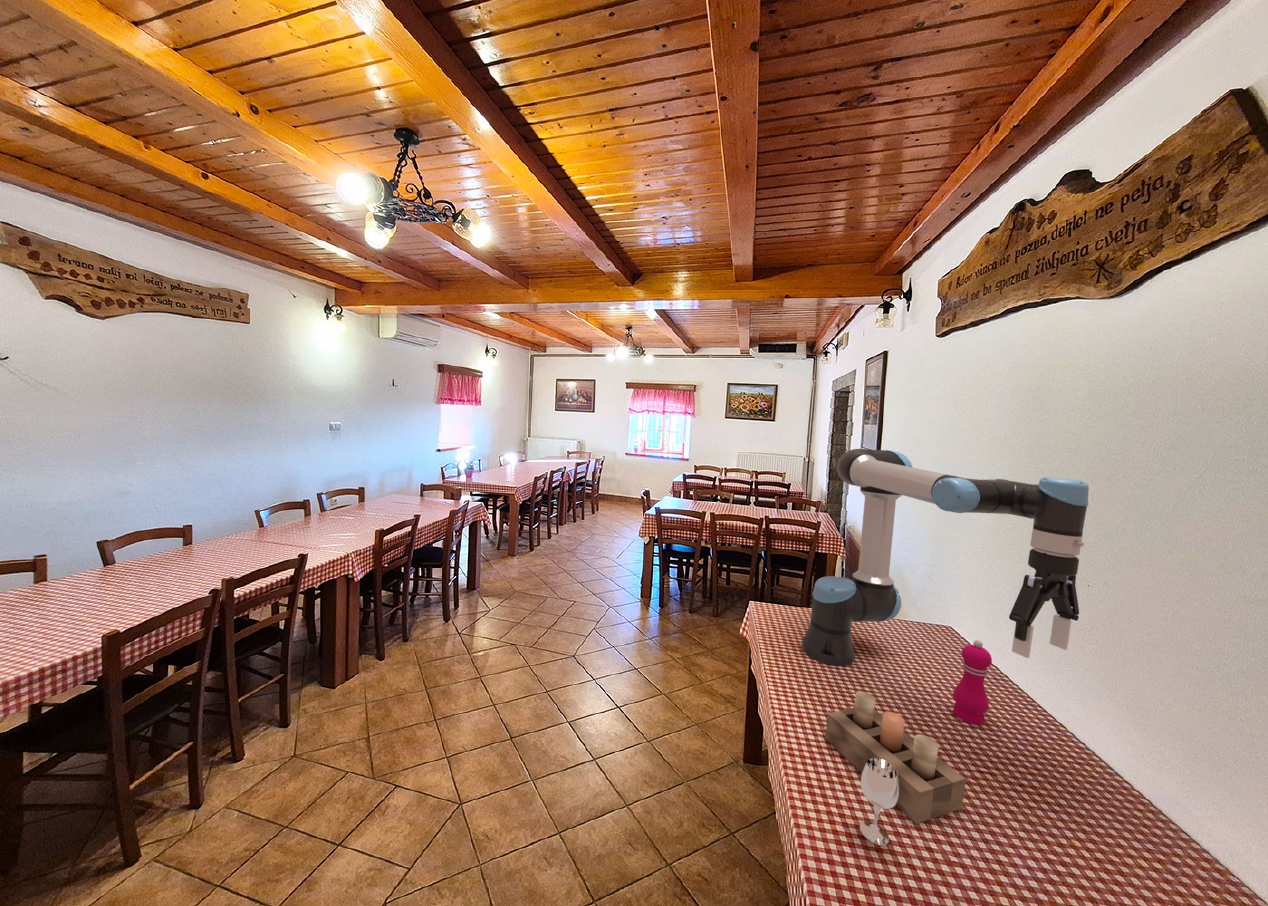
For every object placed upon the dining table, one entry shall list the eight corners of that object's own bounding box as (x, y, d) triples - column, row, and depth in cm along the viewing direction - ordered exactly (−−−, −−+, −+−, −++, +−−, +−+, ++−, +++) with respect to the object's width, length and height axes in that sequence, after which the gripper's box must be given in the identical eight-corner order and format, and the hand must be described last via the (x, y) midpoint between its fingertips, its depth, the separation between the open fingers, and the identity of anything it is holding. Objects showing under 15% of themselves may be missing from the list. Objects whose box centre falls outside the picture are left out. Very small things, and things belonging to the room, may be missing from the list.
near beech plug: (906, 765, 86) (909, 736, 86) (920, 762, 87) (923, 733, 87) (924, 781, 82) (928, 750, 82) (939, 777, 84) (943, 746, 83)
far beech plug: (849, 718, 99) (851, 692, 99) (861, 715, 100) (864, 690, 100) (863, 730, 96) (866, 703, 95) (876, 727, 97) (879, 700, 96)
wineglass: (848, 818, 80) (856, 755, 79) (879, 818, 80) (886, 755, 79) (868, 849, 74) (876, 781, 73) (900, 849, 74) (909, 781, 74)
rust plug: (875, 740, 93) (878, 713, 92) (889, 737, 94) (892, 710, 93) (891, 753, 89) (895, 725, 89) (905, 750, 90) (908, 722, 90)
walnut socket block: (824, 738, 100) (827, 713, 100) (865, 729, 104) (868, 705, 104) (916, 824, 79) (920, 792, 79) (961, 808, 84) (965, 778, 83)
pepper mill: (993, 729, 108) (1004, 650, 106) (959, 723, 109) (970, 645, 108) (976, 710, 115) (986, 636, 113) (945, 705, 116) (955, 631, 115)
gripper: (1040, 560, 84) (1025, 668, 86) (1110, 555, 93) (1095, 652, 95) (996, 549, 91) (983, 648, 93) (1065, 545, 100) (1052, 635, 102)
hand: (1039, 650), depth 94 cm, fingers open, 13 cm apart
